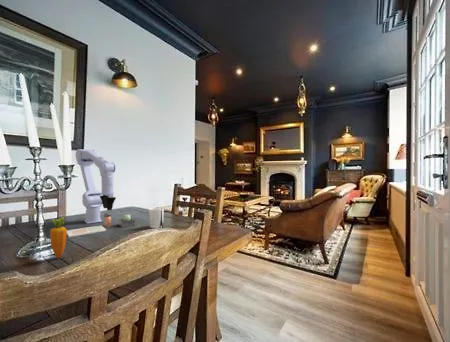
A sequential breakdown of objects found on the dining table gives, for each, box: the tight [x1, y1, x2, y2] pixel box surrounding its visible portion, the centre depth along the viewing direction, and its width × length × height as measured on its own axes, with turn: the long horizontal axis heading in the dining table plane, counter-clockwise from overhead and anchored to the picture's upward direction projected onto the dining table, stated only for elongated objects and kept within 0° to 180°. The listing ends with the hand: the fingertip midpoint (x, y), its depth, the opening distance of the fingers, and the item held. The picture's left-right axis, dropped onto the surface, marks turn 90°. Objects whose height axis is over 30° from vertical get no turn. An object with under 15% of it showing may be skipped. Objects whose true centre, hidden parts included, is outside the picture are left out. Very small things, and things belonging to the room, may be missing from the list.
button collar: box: [117, 217, 136, 228], centre depth 128 cm, size 7×7×3 cm
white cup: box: [148, 207, 165, 229], centre depth 125 cm, size 8×8×10 cm
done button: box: [121, 213, 132, 221], centre depth 128 cm, size 4×4×4 cm
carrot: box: [49, 216, 68, 259], centre depth 83 cm, size 5×5×15 cm
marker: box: [103, 212, 112, 228], centre depth 126 cm, size 3×3×7 cm
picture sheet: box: [66, 224, 107, 238], centre depth 116 cm, size 11×16×1 cm
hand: (107, 209), depth 126 cm, fingers open, 7 cm apart
